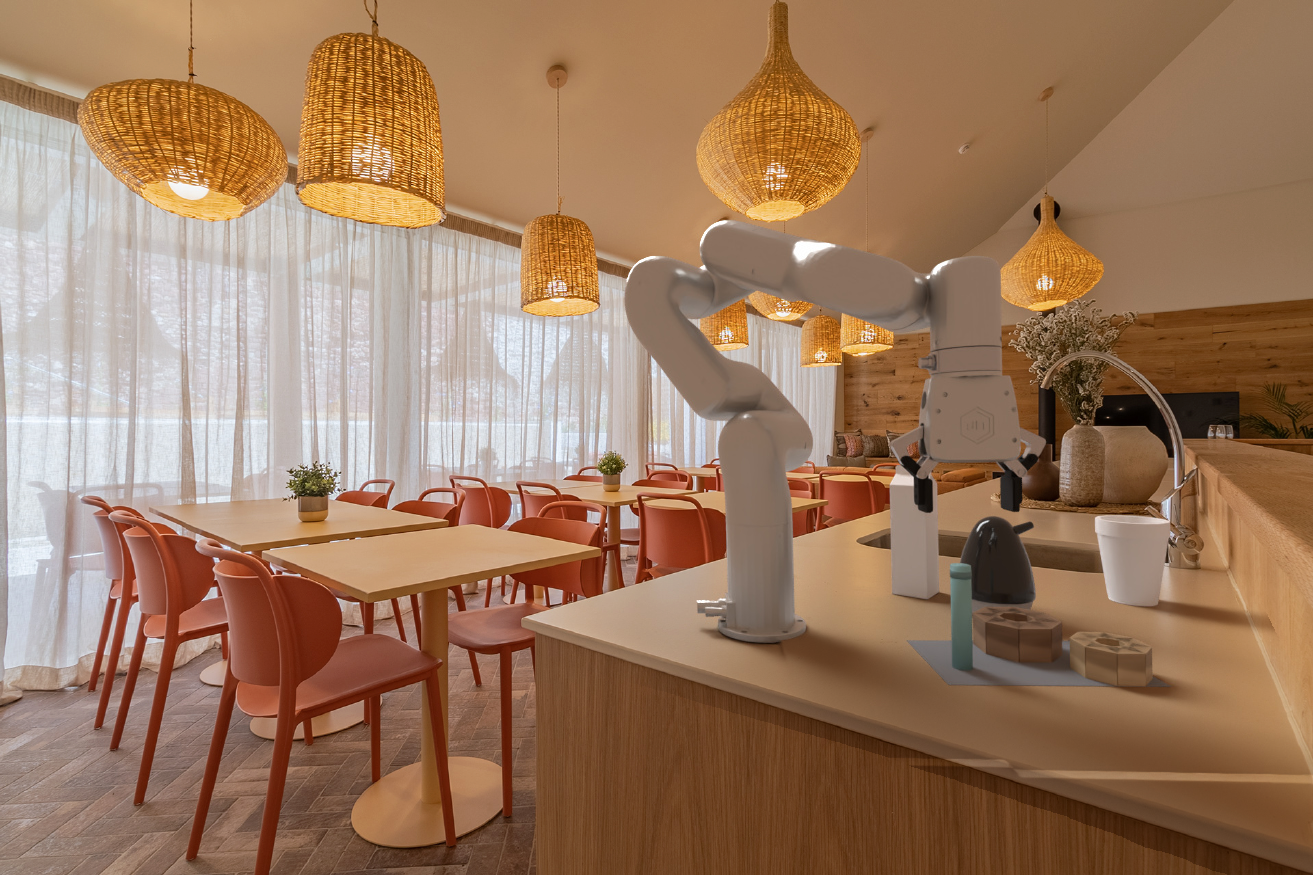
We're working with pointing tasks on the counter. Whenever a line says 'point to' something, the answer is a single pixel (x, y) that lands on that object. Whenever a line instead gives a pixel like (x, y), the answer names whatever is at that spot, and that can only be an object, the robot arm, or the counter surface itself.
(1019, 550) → the pump dispenser
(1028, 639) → the bead
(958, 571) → the teal rounded rod
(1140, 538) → the foam cup
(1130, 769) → the counter surface
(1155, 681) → the mat
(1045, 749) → the counter surface
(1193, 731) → the counter surface
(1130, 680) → the oak bead
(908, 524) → the milk
